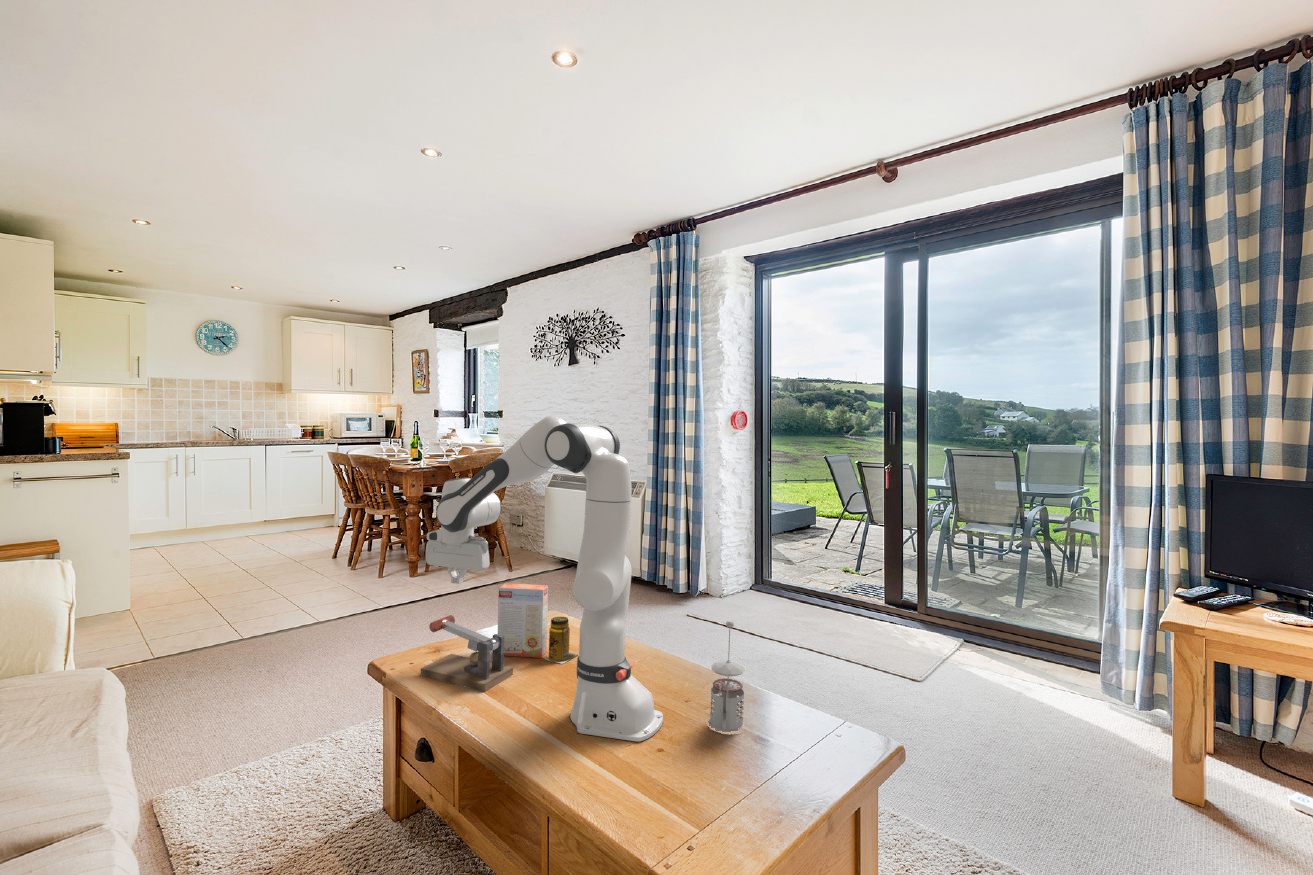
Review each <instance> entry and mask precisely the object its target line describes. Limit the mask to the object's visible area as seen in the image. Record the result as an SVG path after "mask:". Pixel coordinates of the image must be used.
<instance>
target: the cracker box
mask: <svg viewBox="0 0 1313 875" xmlns="http://www.w3.org/2000/svg"><path fill="white" fill-rule="evenodd" d="M497 601H498V603H497V605H498V606H497V607H498V608H497V634H498V635H503V636H504V657H507V656H508V657H522V658H536V659H537V658H538V659H541V658H542V657H544V655H545V654H546V653H547V651H548V650H547V649H548V648H547V647H548V613H549V612H548V607H549V606H548V605H549V604H548V602H549V586H548V584H547V585H546V584H530V583H529V584H528V583H512V582H511V583H507V582H506V583H503V584H502V585H501V586H499V587H498V600H497ZM542 659H543V658H542Z"/></svg>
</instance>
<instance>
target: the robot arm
mask: <svg viewBox="0 0 1313 875" xmlns="http://www.w3.org/2000/svg"><path fill="white" fill-rule="evenodd" d="M620 450H621V443H620V439H619V436H618V435H617V434H616V432H615V431H614V430H612V429H610V428H609V427H606V426H603V425H595V424H589V423H582V422H581V423H580V422H579V423H578V422H577V423H570V422H569V423H568V422H567V421H566V420H564V419H563V418H562V417H560V416H557V415H549V416H546V417H543V418H542V419H540V420H539V421H538V422H536V423H535V424H534V425H532V426H531V427H530V428H529V429H527V431H525V432H524V433H523V435H521V437H519V438H518V439H517V441H515V442H514V443H513V444H512V445H511V446H510V447H509V448H508V449H507V450H505V451H504V452H503V453H502V454H501V455H499V456H497V457H496V458H495V459H494V460H493V461H491V462H490V463H488V464H487V465H486V466H484V467H483V468H481V469H480V470H479V472H477V473H476V474H475V475H473V477H459V478H450V479H448V480H445V482H444V484H443V487H442V490H441V491H442V492H441V499H440V500H439V503H438V504H437V507H436V511H435V513H436V514H435V516H436V519H437V522H438V524H439V525H440V527H441V528H438V529H436V530H432V531H430V532H429V531H428V532H427V533H426V540H428V541H427V542H426V546H425V561H426V564H427V565H429V566H435V567H436V566H437V567H445V568H447V572H448V574H449V576H450V582H451V584H458V585H461V584H463V583H464V577H465V576H466V573H467V572H468V570H469V571H477V572H481V571H485V570H488V568H490V564H491V563H490V553H489V552H490V551H489V542H488V541H487V540H486V539H485V538H484V537H483V536H475V532H474V531H475V528H478V527H482V526H488V525H491V524H494V523H496V522H497V521H498V520H499V519H500V517H501V513H502V502H501V499H500V497H499V496H498V495H497V493H495V492H496V491H498V490H501V489H502V488H506V487H508V486H509V487H510V486H514V485H519V484H522V483H528V482H532V481H534V480H536V479H538V478H539V477H541V476H542V475H544V474H545V473H546V472H548V471H549V470H550V469H552V467H553V466H554V465H556V466H558V467H559V468H562V469H565V470H568V471H569V472H571V473H573V474H579V473H582V474H583V475H584V477H585V480H586V489H585V490H586V491H585V502H584V503H585V504H584V523H583V534H582V540H581V543H580V544H581V545H580V549H579V555H578V560H577V566H576V572H575V574H576V575H575V578H574V581H573V587H572V591H573V592H572V594H573V596H574V599H575V601H576V603H577V604H578V605H579V606H580V607H582V608H583V612H582V618H581V622H580V623H579V646H578V647H579V648H578V650H579V651H578V654H579V655H577V656H578V657H576V658H577V660H576V678H577V682H576V692H575V695H574V696H575V697H574V701H573V706H572V708H571V712H570V720H571V721H572V723H573V724H574V725H575V726H576V731H577V733H579V734H583V735H588V736H589V735H590V736H595V737H596V736H597V737H603V738H604V737H605V738H610V739H611V738H612V739H617V740H626V741H632V742H642V741H645V740H647V739H649V738H651V737H652V736H654V735H655V734H656V733H657V732H658V731H659V730H660V728H661V727H662V726H663V724H662V723H664V714H663V712H662V711H659V710H657V709H655V703H654V698H653V694H652V693H651V692H650V691H649V690H648V689H647V688H646V687H645V686H644V685H643V684H642V683H641V682H640V681H639V680H638V679H637V678H635V676H634V675H633V674H632V669H634V668H633V667H635V665H634V663H635V662H634V661H632V662H631V663H629V662H628V659H627V658H626V655H625V653H626V628H627V618H628V612H629V611H628V610H629V604H630V594H631V583H632V574H633V569H632V564H631V561H630V560H629V558H628V557H627V555H626V552H627V548H628V547H627V546H628V540H629V536H630V532H631V529H630V528H631V513H632V494H633V493H632V488H633V487H632V486H633V485H632V476H631V473H632V472H631V466H630V464H629V461H628V460H627V458H625V457H624V456H622V455H620ZM456 570H457V571H456ZM457 572H458V574H457Z"/></svg>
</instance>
